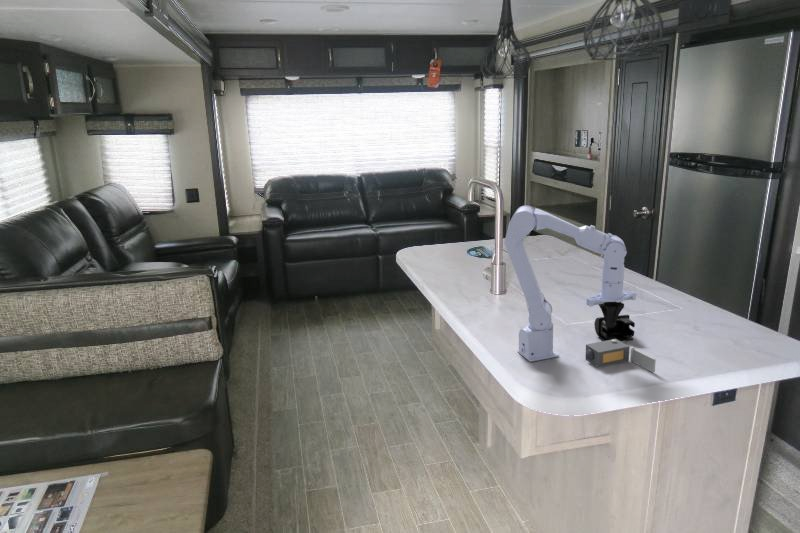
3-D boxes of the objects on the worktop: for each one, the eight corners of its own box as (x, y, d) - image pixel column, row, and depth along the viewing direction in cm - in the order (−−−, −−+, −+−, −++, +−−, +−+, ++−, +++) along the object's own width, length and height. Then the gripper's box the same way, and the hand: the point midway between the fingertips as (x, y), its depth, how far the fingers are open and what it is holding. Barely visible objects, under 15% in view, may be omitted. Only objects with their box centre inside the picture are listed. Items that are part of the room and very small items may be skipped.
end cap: (623, 331, 181) (624, 311, 179) (635, 340, 174) (636, 319, 172) (593, 334, 180) (594, 314, 178) (604, 343, 173) (605, 322, 171)
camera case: (595, 367, 157) (596, 351, 156) (583, 359, 163) (583, 343, 162) (628, 361, 160) (629, 344, 159) (615, 353, 166) (616, 337, 164)
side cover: (655, 372, 152) (656, 358, 151) (652, 373, 152) (653, 358, 151) (632, 360, 160) (632, 346, 159) (629, 360, 160) (630, 347, 159)
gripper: (597, 287, 151) (595, 335, 155) (644, 281, 155) (641, 327, 158) (582, 280, 158) (581, 326, 161) (627, 274, 161) (625, 319, 165)
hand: (609, 326), depth 160 cm, fingers closed
